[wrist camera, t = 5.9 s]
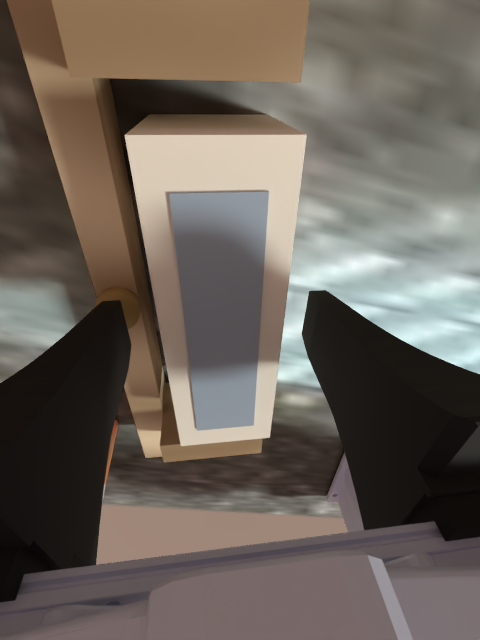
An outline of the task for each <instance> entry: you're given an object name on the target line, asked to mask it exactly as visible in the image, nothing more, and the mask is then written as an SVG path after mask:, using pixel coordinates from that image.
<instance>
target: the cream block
mask: <svg viewBox="0 0 480 640" xmlns="http://www.w3.org/2000/svg"><path fill="white" fill-rule="evenodd" d="M306 136H307V135H306V134H304V133H302V132H300V131H298V130H297V129H295V128H293V127H291V126H289V125H287V124H285V123H283V122H281V121H279V120H277V119H275V118H273V117H271V116H269V115H207V114H149V115H148V116H147V117H146V118H145V119H143V120H142V121H141V122H140V123H138V124H137V125H136V126H135V127H134V128H132V129H131V130H130V131H129V132H128V133H126V134H125V140H126V146H127V151H128V157H129V162H130V168H131V173H132V179H133V185H134V190H135V196H136V201H137V207H138V212H139V218H140V223H141V229H142V234H143V240H144V245H145V251H146V256H147V262H148V267H149V273H150V279H151V284H152V290H153V295H154V301H155V306H156V312H157V317H158V323H159V328H160V334H161V339H162V345H163V350H164V356H165V361H166V367H167V373H168V378H169V384H170V389H171V395H172V400H173V406H174V411H175V417H176V422H177V428H178V433H179V439H180V444H181V446H189V445H199V444H209V443H220V442H230V441H241V440H251V439H261V438H270V432H271V424H272V415H273V407H274V399H275V391H276V382H277V374H278V366H279V358H280V350H281V341H282V333H283V325H284V317H285V309H286V300H287V292H288V284H289V276H290V268H291V259H292V251H293V243H294V235H295V226H296V218H297V210H298V202H299V194H300V185H301V177H302V169H303V161H304V153H305V144H306Z"/></svg>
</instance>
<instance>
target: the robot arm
mask: <svg viewBox="0 0 480 640" xmlns="http://www.w3.org/2000/svg"><path fill="white" fill-rule="evenodd" d="M302 337H303V340H304V344H305V348H306V351H307V355H308V358H309V360H310V362H311V365H312V367H313V369H314V372H315V374H316V376H317V379H318V381H319V383H320V385H321V388H322V390H323V392H324V394H325V397H326V399H327V401H328V404H329V406H330V409H331V411H332V414H333V416H334V420H335V423H336V426H337V429H338V432H339V435H340V439H341V442H342V445H343V449H344V454H343V457H342V459H341V462H340V464H339V467H338V469H337V472H336V474H335V477H334V479H333V482H332V484H331V487H330V490H329V492H328V495H327V497H326V498H327V501H328V502H330V503H333V502H338V503H339V506H340V509H341V512H342V515H343V518H344V521H345V524H346V527H347V530H348V532H347V533H339V534H333V535H324V536H316V537H309V538H301V539H293V540H285V541H279V542H270V543H263V544H255V545H247V546H240V547H231V548H224V549H216V550H208V551H200V552H193V553H185V554H177V555H169V556H161V557H154V558H146V559H138V560H131V561H123V562H115V563H107V564H100V565H96V558H97V547H98V536H99V524H100V516H101V506H102V498H103V490H104V482H105V475H106V468H107V461H108V454H109V448H110V441H111V435H112V431H113V426H114V422H115V418H116V414H117V411H118V407H119V403H120V400H121V396H122V392H123V389H124V385H125V381H126V377H127V373H128V369H129V362H130V354H131V345H132V344H131V340H130V336H129V332H128V328H127V324H126V320H125V316H124V312H123V308H122V304H121V301H120V300H113V301H102V302H101V303H99V304H98V305H97V306H96V307H95V308H94V309H93V310H92V311H91V312H90V313H89V314H88V315H86V316H85V317H84V318H83V319H82V320H81V321H80V322H79V323H78V324H77V325H76V326H75V327H74V328H72V329H71V330H70V331H69V332H68V333H67V334H66V335H65V336H64V337H62V338H61V339H60V340H59V341H57V342H56V343H55V344H54V345H53V346H51V347H50V348H49V349H48V350H47V351H45V352H44V353H43V354H42V355H40V356H39V357H38V358H37V359H35V360H34V361H33V362H31V363H30V364H28V365H27V366H26V367H24V368H23V369H21V370H20V371H18V372H17V373H15V374H14V375H13V376H11V377H10V378H8V379H6V380H5V381H3V382H2V383H0V640H480V374H477V373H474V372H471V371H468V370H466V369H463V368H461V367H458V366H455V365H453V364H451V363H448V362H446V361H444V360H441V359H439V358H437V357H434V356H432V355H430V354H428V353H426V352H423V351H421V350H419V349H417V348H415V347H414V346H412V345H410V344H408V343H406V342H404V341H402V340H400V339H398V338H397V337H395V336H393V335H391V334H390V333H388V332H386V331H385V330H383V329H382V328H380V327H378V326H377V325H375V324H374V323H372V322H371V321H369V320H368V319H366V318H365V317H363V316H362V315H360V314H359V313H357V312H356V311H355V310H353V309H352V308H350V307H349V306H348V305H346V304H345V303H343V302H342V301H341V300H339V299H338V298H336V297H335V296H333V295H332V294H330V293H329V292H327V291H325V290H323V291H309V296H308V302H307V307H306V313H305V319H304V324H303V330H302Z"/></svg>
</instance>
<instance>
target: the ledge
mask: <svg viewBox="0 0 480 640" xmlns="http://www.w3.org/2000/svg"><path fill="white" fill-rule="evenodd" d="M7 3H8V7H9V10H10V13H11V17H12V20H13V23H14V26H15V30H16V33H17V36H18V40H19V43H20V46H21V50H22V53H23V56H24V59H25V63H26V66H27V69H28V73H29V76H30V79H31V82H32V86H33V89H34V92H35V96H36V99H37V102H38V105H39V109H40V112H41V115H42V119H43V122H44V125H45V128H46V132H47V135H48V138H49V142H50V145H51V148H52V151H53V155H54V158H55V161H56V165H57V168H58V171H59V175H60V178H61V181H62V184H63V188H64V191H65V194H66V198H67V201H68V204H69V207H70V211H71V214H72V217H73V221H74V224H75V227H76V230H77V234H78V237H79V240H80V244H81V247H82V250H83V253H84V257H85V260H86V263H87V267H88V270H89V273H90V277H91V280H92V283H93V286H94V290H95V293H96V296H97V301H96V303H95V306H94V308H95V307H96V306H97V305H98V304H99V303H101V302H102V301H113V300H120V301H121V304H122V308H123V312H124V316H125V320H126V324H127V328H128V332H129V336H130V340H131V344H132V345H131V354H130V362H129V369H128V373H127V377H126V381H125V385H124V388H125V392H126V395H127V398H128V402H129V405H130V408H131V411H132V415H133V418H134V421H135V425H136V428H137V431H138V434H139V438H140V441H141V444H142V448H143V451H144V454H145V457H146V458H152V457H163V461H164V462H174V461H184V460H194V459H204V458H214V457H224V456H234V455H244V454H254V453H261V450H262V440H263V438H261V439H251V440H241V441H230V442H220V443H209V444H199V445H189V446H181V444H180V439H179V433H178V428H177V422H176V417H175V411H174V406H173V400H172V395H171V389H170V384H169V382H165V376H164V371H163V365H162V360H161V355H160V349H159V344H158V338H157V333H156V327H155V322H154V316H153V311H152V305H151V300H150V294H149V289H148V283H147V278H146V273H145V267H144V262H143V256H142V251H141V245H140V240H139V234H138V229H137V223H136V218H135V212H134V207H133V202H132V196H131V191H130V185H129V180H128V174H127V169H126V163H125V158H124V152H123V147H122V141H121V136H120V131H119V125H118V120H117V114H116V109H115V103H114V98H113V92H112V87H111V81H110V78H119V79H165V80H211V81H257V82H301V77H302V68H303V58H304V49H305V40H306V31H307V21H308V12H309V3H310V0H7Z"/></svg>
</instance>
